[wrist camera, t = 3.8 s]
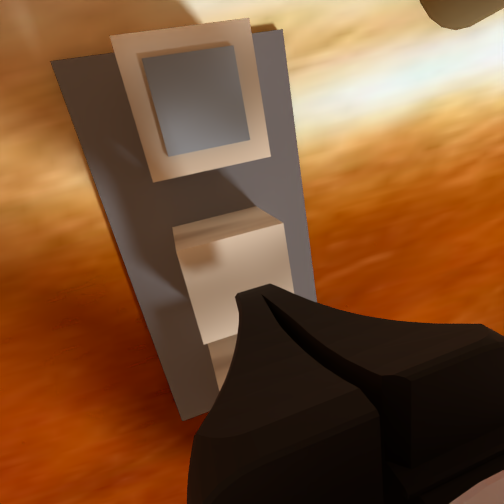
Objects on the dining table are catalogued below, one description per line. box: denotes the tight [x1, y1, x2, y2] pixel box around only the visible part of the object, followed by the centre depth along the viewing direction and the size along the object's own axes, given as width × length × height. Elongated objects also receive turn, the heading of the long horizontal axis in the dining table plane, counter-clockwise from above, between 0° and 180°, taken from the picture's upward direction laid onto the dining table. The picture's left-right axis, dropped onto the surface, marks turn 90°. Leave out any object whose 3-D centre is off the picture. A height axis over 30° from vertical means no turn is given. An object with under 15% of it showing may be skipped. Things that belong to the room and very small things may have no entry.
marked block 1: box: [110, 18, 271, 183], centre depth 12 cm, size 4×4×4 cm
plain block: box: [172, 206, 294, 345], centre depth 15 cm, size 4×4×4 cm
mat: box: [50, 29, 317, 421], centre depth 17 cm, size 20×10×1 cm, turn 11°
